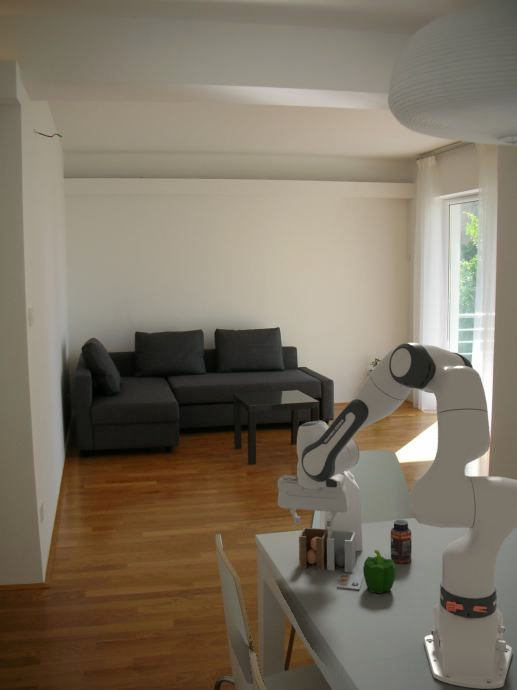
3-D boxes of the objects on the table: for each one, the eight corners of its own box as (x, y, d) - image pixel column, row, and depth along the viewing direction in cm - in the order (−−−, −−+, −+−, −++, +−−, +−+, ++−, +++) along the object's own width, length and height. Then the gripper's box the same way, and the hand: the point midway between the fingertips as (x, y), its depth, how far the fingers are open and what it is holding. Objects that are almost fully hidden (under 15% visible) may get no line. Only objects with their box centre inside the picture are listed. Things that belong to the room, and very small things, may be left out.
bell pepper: (394, 598, 181) (394, 560, 179) (362, 595, 183) (362, 558, 181) (396, 583, 189) (396, 547, 188) (365, 580, 191) (365, 545, 190)
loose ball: (315, 555, 200) (326, 547, 199) (306, 543, 201) (317, 535, 200) (317, 552, 204) (327, 544, 203) (308, 540, 205) (319, 532, 204)
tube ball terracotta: (319, 565, 200) (316, 552, 200) (305, 566, 201) (302, 553, 201) (321, 559, 204) (319, 546, 204) (308, 560, 205) (305, 547, 205)
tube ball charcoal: (347, 569, 198) (347, 555, 197) (333, 568, 199) (333, 554, 199) (349, 563, 202) (349, 550, 201) (335, 562, 203) (335, 549, 202)
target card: (359, 590, 185) (359, 588, 185) (336, 588, 187) (336, 586, 187) (363, 577, 193) (363, 575, 193) (341, 575, 194) (341, 573, 194)
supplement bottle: (415, 559, 204) (415, 521, 202) (404, 566, 199) (404, 527, 198) (397, 553, 208) (397, 516, 207) (386, 560, 204) (386, 522, 202)
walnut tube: (323, 569, 198) (323, 538, 197) (299, 567, 200) (298, 536, 199) (328, 559, 205) (327, 529, 204) (304, 557, 207) (304, 527, 206)
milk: (319, 536, 222) (318, 456, 219) (355, 535, 223) (355, 455, 220) (324, 552, 210) (323, 467, 207) (362, 550, 211) (362, 466, 208)
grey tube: (352, 572, 196) (351, 541, 195) (327, 569, 198) (326, 539, 197) (355, 562, 203) (355, 531, 202) (331, 559, 205) (331, 529, 204)
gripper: (274, 478, 200) (275, 525, 201) (346, 482, 194) (346, 531, 195) (280, 471, 206) (280, 517, 207) (349, 476, 200) (350, 523, 201)
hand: (313, 524), depth 201 cm, fingers open, 8 cm apart
